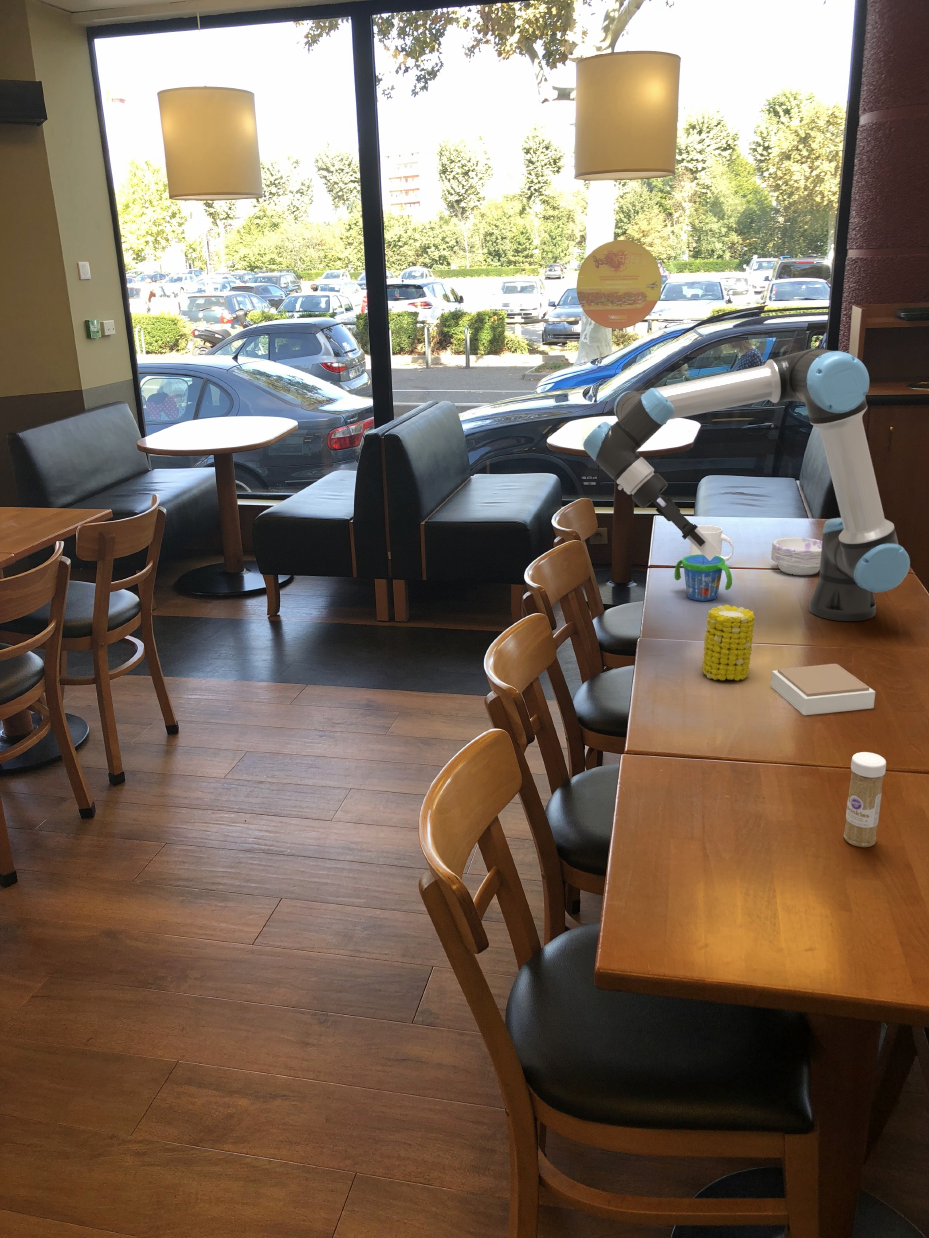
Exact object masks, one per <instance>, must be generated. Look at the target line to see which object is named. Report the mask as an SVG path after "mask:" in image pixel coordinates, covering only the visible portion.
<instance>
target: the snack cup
mask: <svg viewBox="0 0 929 1238" xmlns="http://www.w3.org/2000/svg"><path fill="white" fill-rule="evenodd" d="M725 562H726V561H725V560H724V559H723V558H722V557H719V556H714V557H713V558H712V559H711V560H710V561H709V560H708V559H707V558H706V557H705V556H704V555H703V554H698V555H690V554H689V555H687V556H685V557H683V558H682V559H680V560H679V561H678V562H677V563H676V565H675V568H674V574H673V577H674V580H675V581H680V579H682V575H681V568H680V567H681V566H682V567H683V571H684V572H683V573H684V580H685V588H686V594H687V597H688V598H689V599H691V600H694V601H700V602H701V601H702V602H705V601H712V600H716V598H717V597H718V594H719V590H720V583H721V581H722V574H723V571H724V573H725V577H726V583H725V587H724V590H725V591H729V590H731V588H732V585H733V576H732V572H731V570H730V567H729V566H728V565H727V564H726V563H725Z"/></svg>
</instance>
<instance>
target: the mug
mask: <svg viewBox="0 0 929 1238" xmlns="http://www.w3.org/2000/svg"><path fill="white" fill-rule="evenodd" d="M696 526H697V527H698V528H697V529H698V530H699V531H700V532H701V533H702V534H703V535H704V536H705V537H706V538H707V539H708V540H709V541H710V542H711V543H712V544H713V545H714V546H715V547H716V548H717V549H718V550H719V551H720V552H719V553H718V554H717V555H716V556H719V557H722V558H723V559H724V560H725V562H727V561H729V560H730V559H731V558H732V557H733V555H734V548H735V547H734V543H733V541H732V539H731V538H729V536H727V535H726V534H724V533H723V528H722V527H721V526H717V525H710V524H708V525H707V524H705V525H704V524H701V525H700V524H699V525H696ZM723 542H727V543H728V544H729V545H730V547H731V552H730V554H729V555H727V556H723V555H722V545H723V544H722V543H723ZM689 546H690V547H689V549H690V550H689V556H690V555H698V554H702V553H701V552H700V551H699V550H698V549H697V548H696V547H695V546H694V545H693V544H692V543H691V542H690V545H689Z"/></svg>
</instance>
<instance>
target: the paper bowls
mask: <svg viewBox="0 0 929 1238" xmlns="http://www.w3.org/2000/svg"><path fill="white" fill-rule="evenodd" d="M821 550H822V540H819V539H815V538H809V537H796V536H795V537H792V536H791V537H781V538H777V539H775V540H773V541H772V543H771V555H770V556H771V560H772V561H773V562H775V563H777V566H778V568H779V570H780V571H781V572H783V573H785V574H788V575H792V574H793V575H794V576H811V575H815V574H817V573H818V572H820V562H821Z"/></svg>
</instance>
